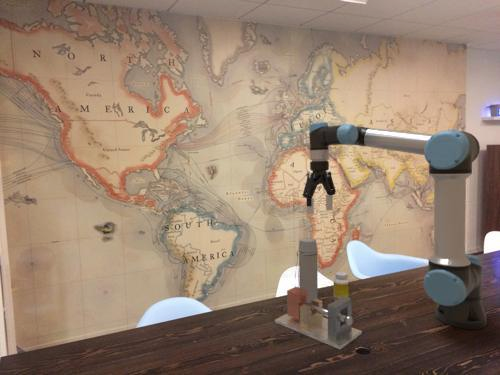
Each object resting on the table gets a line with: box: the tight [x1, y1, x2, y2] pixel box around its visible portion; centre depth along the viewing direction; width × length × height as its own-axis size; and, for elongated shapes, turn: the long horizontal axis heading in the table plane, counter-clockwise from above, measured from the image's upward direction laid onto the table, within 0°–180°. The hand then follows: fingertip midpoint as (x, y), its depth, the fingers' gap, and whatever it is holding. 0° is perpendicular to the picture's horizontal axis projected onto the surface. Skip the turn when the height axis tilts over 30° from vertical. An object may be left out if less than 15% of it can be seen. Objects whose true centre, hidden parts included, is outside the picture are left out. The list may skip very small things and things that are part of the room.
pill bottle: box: [333, 271, 350, 301], centre depth 141 cm, size 6×6×11 cm
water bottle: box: [294, 237, 319, 304], centre depth 140 cm, size 9×8×25 cm
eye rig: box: [274, 296, 363, 350], centre depth 118 cm, size 26×13×12 cm, turn 45°
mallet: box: [286, 286, 354, 325], centre depth 117 cm, size 24×5×9 cm, turn 45°
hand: (320, 212), depth 145 cm, fingers open, 13 cm apart
